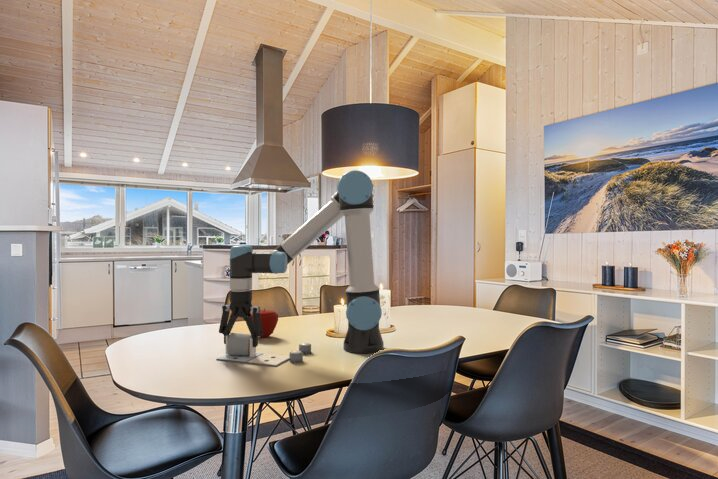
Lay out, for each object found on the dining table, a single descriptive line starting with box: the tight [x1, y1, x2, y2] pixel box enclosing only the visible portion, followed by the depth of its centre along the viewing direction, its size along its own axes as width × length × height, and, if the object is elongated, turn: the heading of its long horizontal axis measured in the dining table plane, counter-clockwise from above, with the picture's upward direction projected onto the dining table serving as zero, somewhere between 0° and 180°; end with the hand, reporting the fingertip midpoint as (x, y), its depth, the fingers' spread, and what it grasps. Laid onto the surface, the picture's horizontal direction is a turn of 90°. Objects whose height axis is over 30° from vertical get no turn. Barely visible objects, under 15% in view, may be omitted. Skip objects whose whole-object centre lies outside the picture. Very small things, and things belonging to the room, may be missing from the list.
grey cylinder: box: [227, 332, 252, 356], centre depth 157 cm, size 11×8×8 cm
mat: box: [216, 352, 290, 368], centre depth 152 cm, size 23×12×1 cm, turn 71°
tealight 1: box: [289, 350, 304, 364], centre depth 150 cm, size 4×4×3 cm
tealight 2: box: [298, 342, 312, 355], centre depth 161 cm, size 4×4×3 cm
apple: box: [251, 308, 279, 339], centre depth 186 cm, size 11×11×12 cm
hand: (240, 354), depth 154 cm, fingers closed on grey cylinder, 9 cm apart
